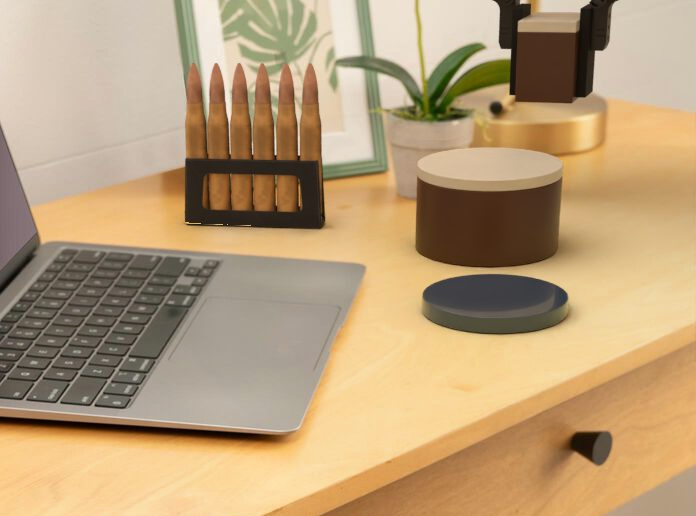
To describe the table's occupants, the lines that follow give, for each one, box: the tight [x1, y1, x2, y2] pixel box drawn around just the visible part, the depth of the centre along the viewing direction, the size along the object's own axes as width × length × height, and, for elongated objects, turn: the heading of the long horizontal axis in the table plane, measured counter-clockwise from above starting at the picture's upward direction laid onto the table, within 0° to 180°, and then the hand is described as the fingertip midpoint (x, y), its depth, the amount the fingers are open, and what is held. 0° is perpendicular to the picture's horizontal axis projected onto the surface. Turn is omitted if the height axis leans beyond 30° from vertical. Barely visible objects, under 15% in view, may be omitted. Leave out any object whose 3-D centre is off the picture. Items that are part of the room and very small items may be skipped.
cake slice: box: [514, 11, 580, 104], centre depth 115 cm, size 5×4×6 cm
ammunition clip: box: [184, 62, 326, 230], centre depth 112 cm, size 11×2×12 cm, turn 75°
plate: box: [421, 273, 569, 334], centre depth 94 cm, size 9×9×1 cm
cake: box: [414, 146, 564, 268], centre depth 106 cm, size 10×10×6 cm
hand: (550, 92), depth 116 cm, fingers closed on cake slice, 4 cm apart
